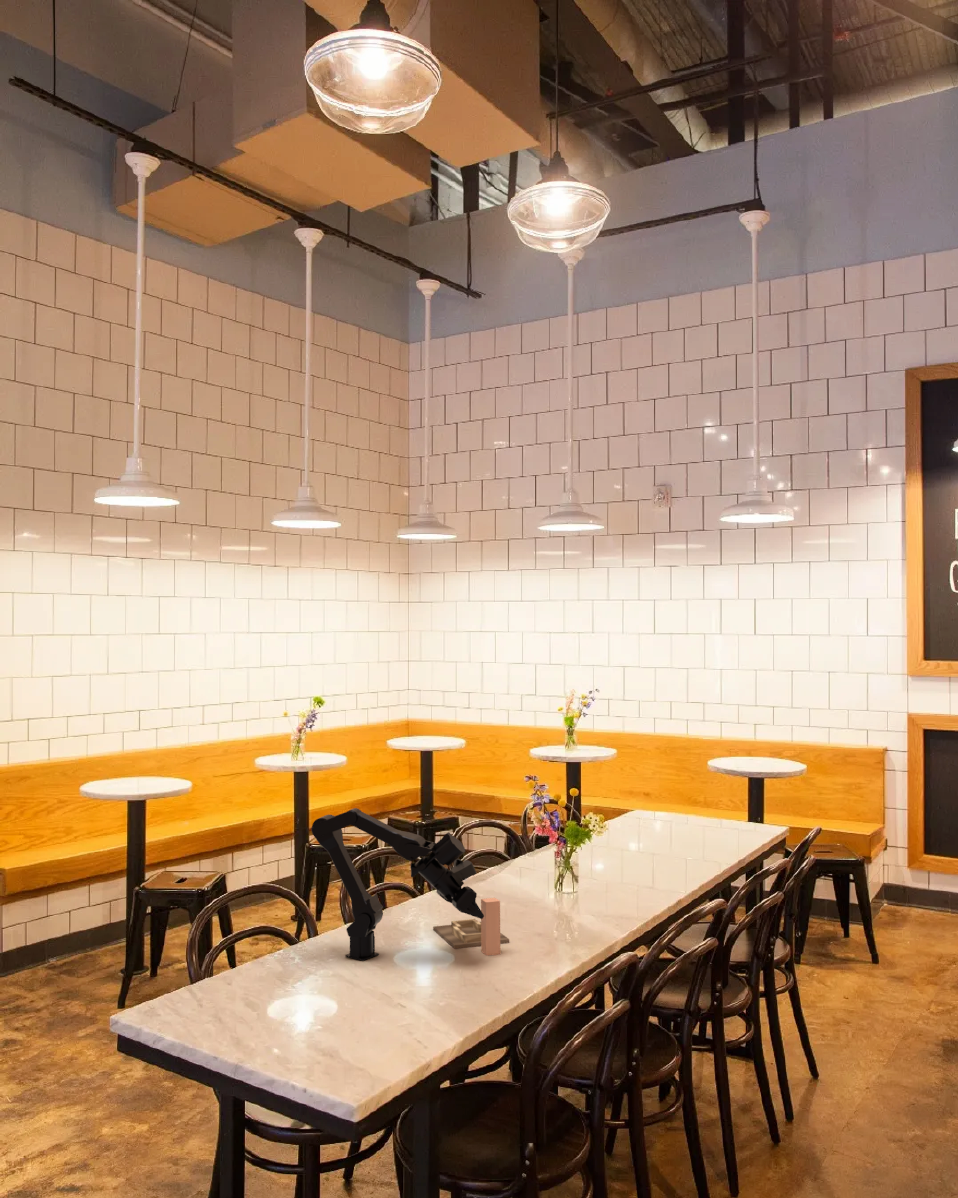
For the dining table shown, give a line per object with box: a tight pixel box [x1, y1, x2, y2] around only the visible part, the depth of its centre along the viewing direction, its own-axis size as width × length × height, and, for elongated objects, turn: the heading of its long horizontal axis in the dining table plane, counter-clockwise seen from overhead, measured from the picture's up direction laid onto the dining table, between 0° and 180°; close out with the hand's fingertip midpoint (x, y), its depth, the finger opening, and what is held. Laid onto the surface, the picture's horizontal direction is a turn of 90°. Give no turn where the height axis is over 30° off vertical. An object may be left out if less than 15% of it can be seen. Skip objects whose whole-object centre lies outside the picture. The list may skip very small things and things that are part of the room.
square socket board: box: [432, 918, 510, 950], centre depth 286 cm, size 20×16×3 cm
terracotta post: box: [480, 897, 501, 957], centre depth 270 cm, size 4×4×14 cm
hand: (477, 913), depth 269 cm, fingers open, 9 cm apart
